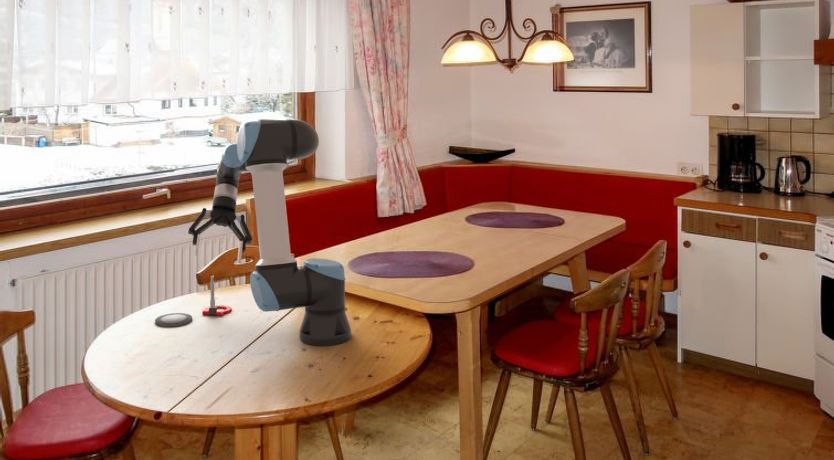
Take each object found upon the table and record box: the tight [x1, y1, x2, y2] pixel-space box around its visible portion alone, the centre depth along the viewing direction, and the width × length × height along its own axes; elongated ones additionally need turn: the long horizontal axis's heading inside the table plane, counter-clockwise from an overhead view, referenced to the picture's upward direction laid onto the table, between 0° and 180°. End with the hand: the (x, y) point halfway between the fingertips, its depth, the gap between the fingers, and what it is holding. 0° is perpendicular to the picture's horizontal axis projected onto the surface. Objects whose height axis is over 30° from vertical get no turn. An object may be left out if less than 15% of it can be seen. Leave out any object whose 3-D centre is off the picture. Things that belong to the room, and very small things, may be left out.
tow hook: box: [201, 275, 232, 317], centre depth 240 cm, size 8×13×9 cm
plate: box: [154, 312, 193, 328], centre depth 231 cm, size 11×11×1 cm
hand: (217, 257), depth 238 cm, fingers open, 13 cm apart
